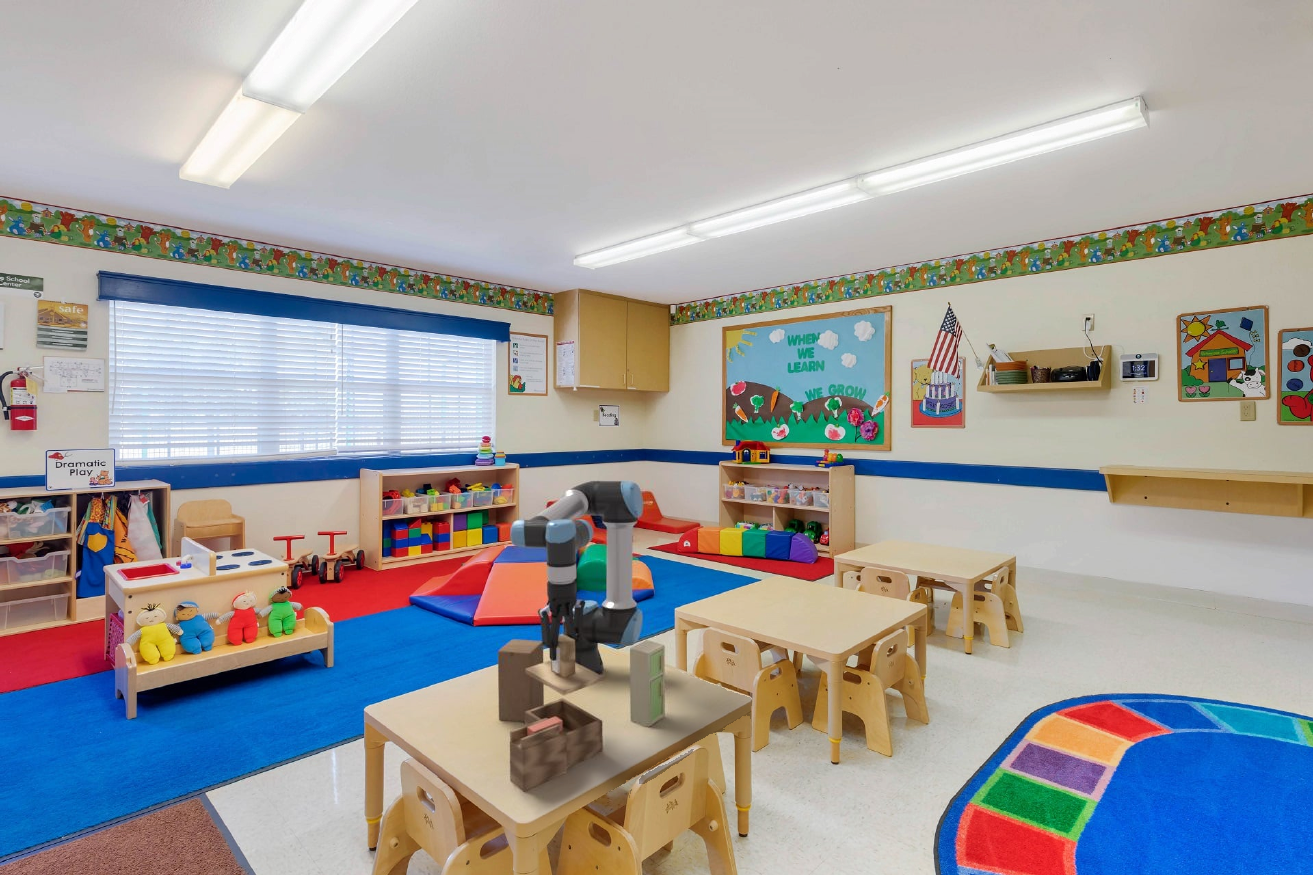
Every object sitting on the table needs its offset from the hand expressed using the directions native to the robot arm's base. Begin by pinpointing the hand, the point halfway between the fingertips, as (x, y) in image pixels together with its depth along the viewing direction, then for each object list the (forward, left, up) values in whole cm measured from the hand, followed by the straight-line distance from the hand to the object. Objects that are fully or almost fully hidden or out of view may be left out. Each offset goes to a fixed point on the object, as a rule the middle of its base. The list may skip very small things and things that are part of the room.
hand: (563, 668), depth 164 cm
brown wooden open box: (+6, +1, -20) cm, 21 cm away
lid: (0, 0, -2) cm, 2 cm away
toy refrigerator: (-26, +4, -21) cm, 33 cm away
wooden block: (-1, -24, -21) cm, 31 cm away
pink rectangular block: (+11, +8, -11) cm, 17 cm away
